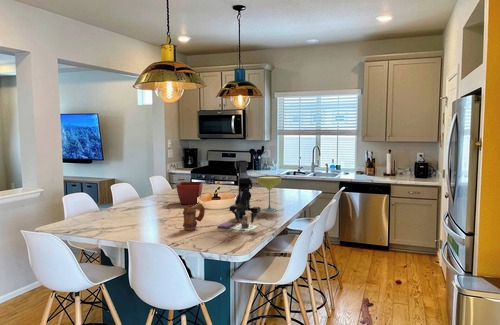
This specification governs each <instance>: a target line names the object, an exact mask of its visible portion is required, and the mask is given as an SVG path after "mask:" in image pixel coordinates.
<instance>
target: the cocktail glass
mask: <svg viewBox="0 0 500 325" xmlns="http://www.w3.org/2000/svg"><path fill="white" fill-rule="evenodd" d="M256 180H257V183H258V184H259V185H261V186H262V187H265V188H266V190H267V191H268V207H267V208H266V207H265V208H263V209H262V208H261V210H262V211H263V212H275V211H274V210H276V209H277V208H273V207H272V206H271V190H272V189H273V188H275V186H278V185H280V184H281V183H282V176H280V175H259V176H257V178H256ZM276 211H277V210H276Z"/></svg>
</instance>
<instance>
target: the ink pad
mask: <svg viewBox="0 0 500 325" xmlns="http://www.w3.org/2000/svg"><path fill="white" fill-rule="evenodd" d="M235 226H236V223H234V222H224V223H223V222H222V224H219V225H217V229H222V230H223V229H225V230H229V229H230V228H232V227H235Z"/></svg>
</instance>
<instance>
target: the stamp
mask: <svg viewBox="0 0 500 325" xmlns="http://www.w3.org/2000/svg"><path fill="white" fill-rule="evenodd" d="M247 216H248V215H244V216H243V218H242V223H241V224H242V228H249V225H250V224H249V222H248V220H249V219H248V217H247Z"/></svg>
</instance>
